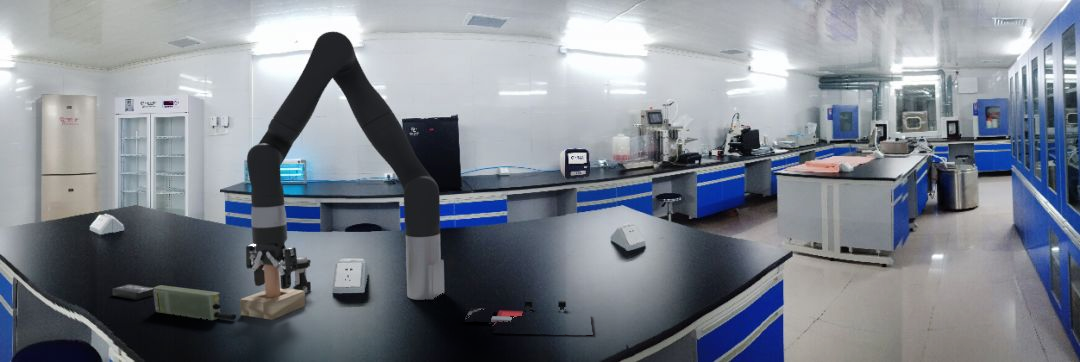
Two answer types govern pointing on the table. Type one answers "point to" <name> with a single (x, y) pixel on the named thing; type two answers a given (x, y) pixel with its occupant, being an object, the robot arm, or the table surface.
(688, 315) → the table surface
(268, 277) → the peg
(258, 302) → the socket block
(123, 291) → the multiport hub
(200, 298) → the handheld radio
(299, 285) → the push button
